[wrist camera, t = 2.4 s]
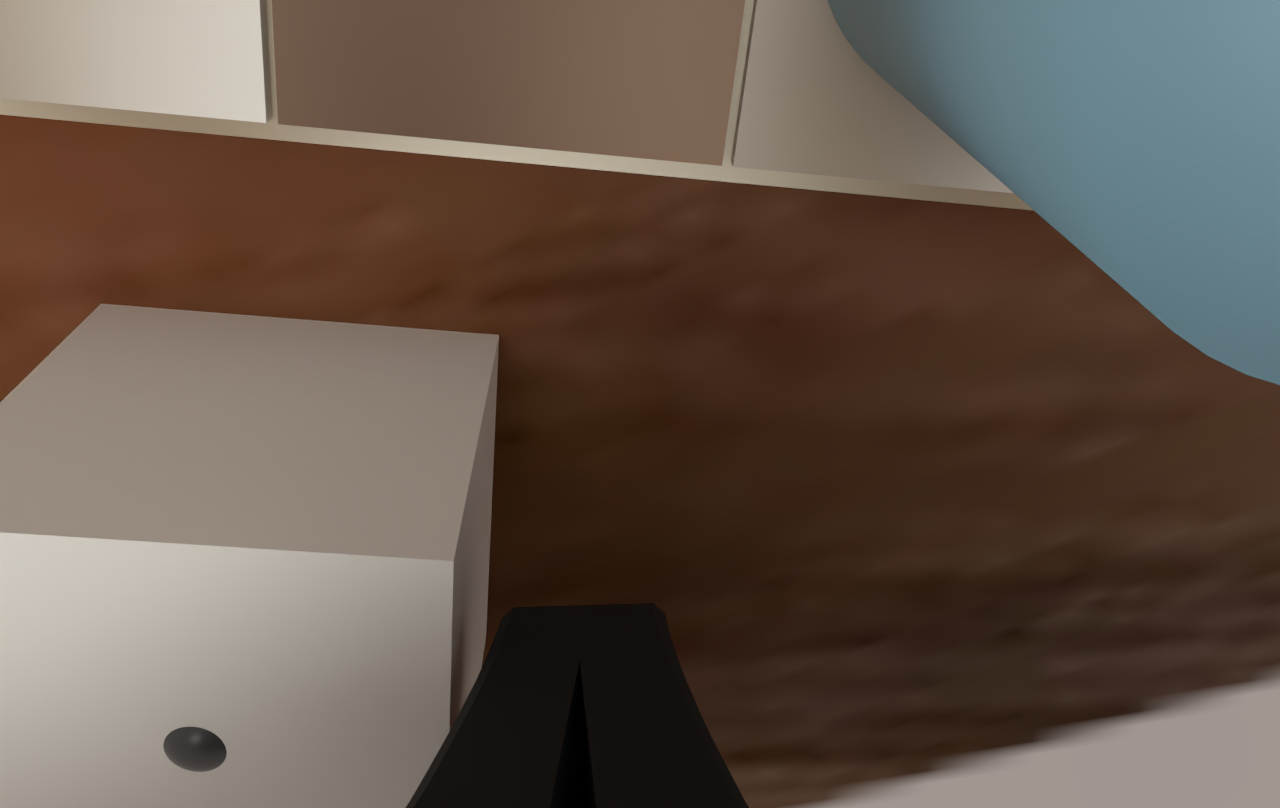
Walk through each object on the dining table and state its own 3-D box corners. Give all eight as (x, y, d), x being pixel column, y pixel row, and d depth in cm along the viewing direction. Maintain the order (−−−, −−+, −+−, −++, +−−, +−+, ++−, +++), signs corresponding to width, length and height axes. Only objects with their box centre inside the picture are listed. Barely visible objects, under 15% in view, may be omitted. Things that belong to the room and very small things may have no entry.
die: (499, 331, 12) (451, 569, 8) (486, 637, 13) (442, 943, 10) (93, 299, 11) (-148, 531, 8) (139, 618, 13) (-37, 924, 10)
